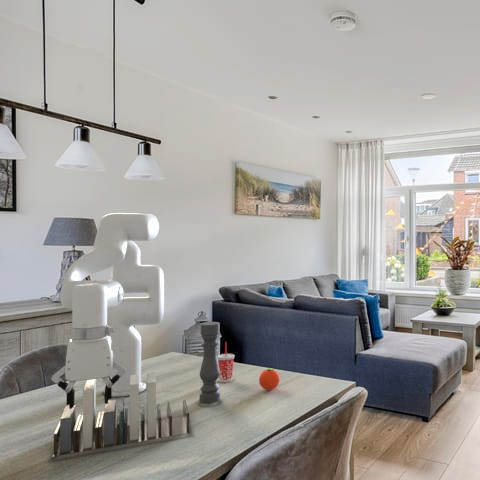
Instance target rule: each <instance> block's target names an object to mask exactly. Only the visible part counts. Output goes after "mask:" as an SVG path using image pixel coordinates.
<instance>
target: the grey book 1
mask: <svg viewBox="0 0 480 480" xmlns="http://www.w3.org/2000/svg"><path fill="white" fill-rule="evenodd" d="M69 406H70V405H66V406H65V407H64V409H63V411H62V414H61V416H60V418H59V421H60V453H62V452H68V451H71V449H72V446H73V430H74V427H75V424H76V421H77V405H76V404H74V407H73V408H72V409H70V408H69Z"/></svg>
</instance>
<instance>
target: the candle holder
mask: <svg viewBox="0 0 480 480" xmlns="http://www.w3.org/2000/svg"><path fill="white" fill-rule="evenodd" d="M219 334H220V322H218V321H206V322H201V323H200V335H201V338H202V340H203V341H202V342H201V344H200V345H201V347H202V349H203V358H202V362H201V365H200V369H199V377H200V380H201V382H202V385H201V387H200V388H199V389H200V390H199V398H198V399H199V403H201V404H214V403H217V402H219V401H221V391H220V386H219V384H218V383H217V382H218V380H219V376H220V369H219V365H218V359H217V347H218V346H219V341H218V337H219Z"/></svg>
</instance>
